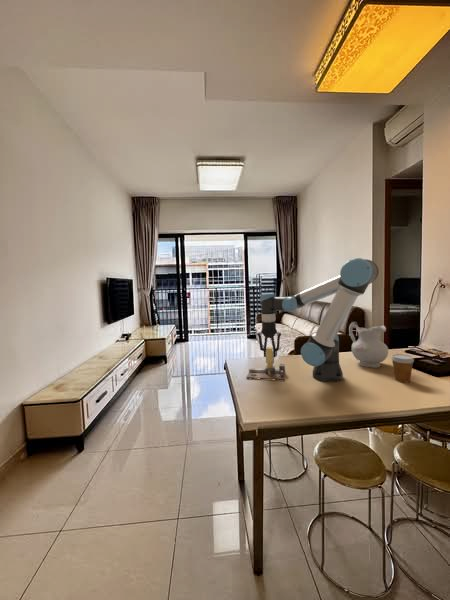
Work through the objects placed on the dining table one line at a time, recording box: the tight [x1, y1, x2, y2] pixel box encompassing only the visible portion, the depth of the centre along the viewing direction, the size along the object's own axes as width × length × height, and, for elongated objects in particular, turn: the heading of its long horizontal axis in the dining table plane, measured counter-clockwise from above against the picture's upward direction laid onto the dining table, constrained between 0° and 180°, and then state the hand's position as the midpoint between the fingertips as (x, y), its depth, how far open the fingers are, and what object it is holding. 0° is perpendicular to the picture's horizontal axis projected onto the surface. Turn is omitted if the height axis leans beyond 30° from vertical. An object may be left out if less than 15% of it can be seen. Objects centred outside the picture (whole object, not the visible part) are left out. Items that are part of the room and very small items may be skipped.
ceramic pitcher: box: [348, 321, 389, 369], centre depth 158 cm, size 22×20×25 cm
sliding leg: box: [264, 346, 276, 376], centre depth 147 cm, size 5×9×14 cm, turn 165°
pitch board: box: [246, 363, 286, 381], centre depth 147 cm, size 20×12×6 cm, turn 75°
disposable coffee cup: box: [390, 353, 415, 383], centre depth 132 cm, size 10×10×12 cm
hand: (270, 362), depth 149 cm, fingers closed on sliding leg, 3 cm apart
